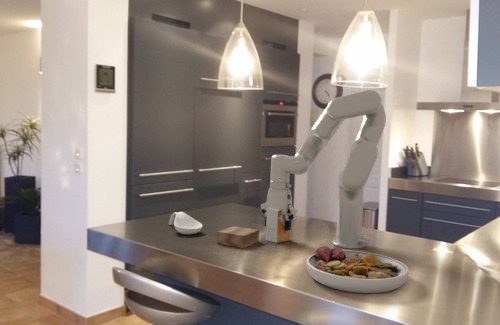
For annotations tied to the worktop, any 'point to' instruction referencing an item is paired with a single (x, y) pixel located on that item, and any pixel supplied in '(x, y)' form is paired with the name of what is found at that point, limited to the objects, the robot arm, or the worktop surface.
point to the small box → (276, 226)
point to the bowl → (356, 270)
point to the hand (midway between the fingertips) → (277, 228)
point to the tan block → (237, 236)
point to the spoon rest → (185, 223)
